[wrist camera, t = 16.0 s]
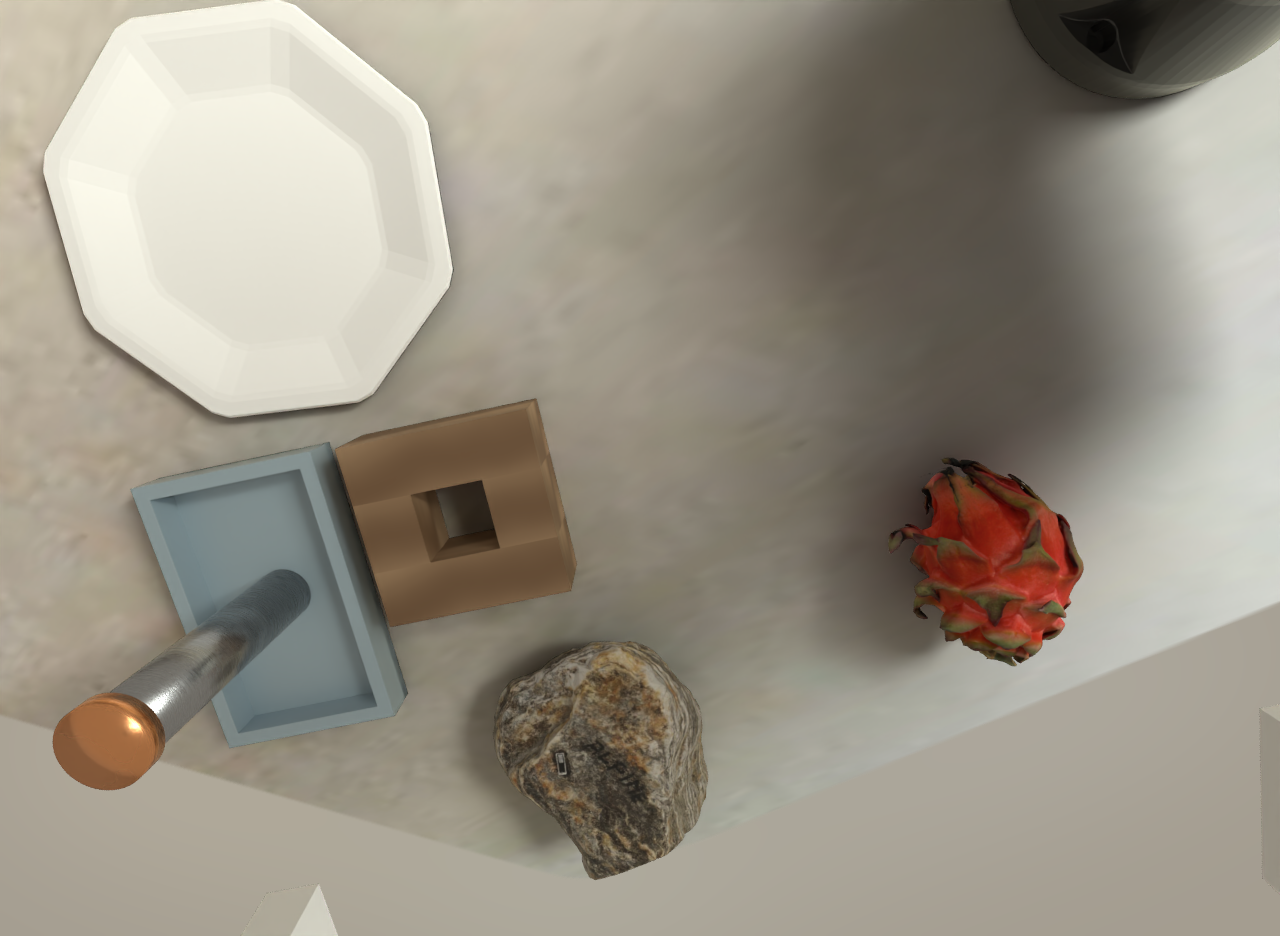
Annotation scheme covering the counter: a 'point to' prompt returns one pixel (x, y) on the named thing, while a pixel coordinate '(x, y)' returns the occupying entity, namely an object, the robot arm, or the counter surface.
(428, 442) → the block
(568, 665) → the stone
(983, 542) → the dragon fruit
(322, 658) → the tray
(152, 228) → the plate
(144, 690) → the lock pin
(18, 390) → the counter surface
